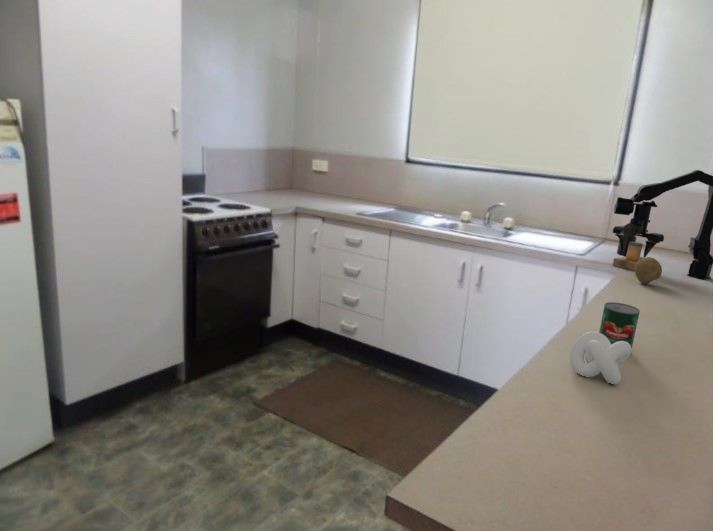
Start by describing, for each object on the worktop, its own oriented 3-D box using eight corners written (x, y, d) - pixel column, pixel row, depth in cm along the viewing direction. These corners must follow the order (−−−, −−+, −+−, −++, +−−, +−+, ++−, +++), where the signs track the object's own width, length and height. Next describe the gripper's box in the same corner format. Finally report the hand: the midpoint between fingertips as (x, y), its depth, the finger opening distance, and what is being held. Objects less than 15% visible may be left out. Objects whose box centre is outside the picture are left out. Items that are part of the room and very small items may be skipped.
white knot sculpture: (635, 394, 113) (645, 353, 111) (574, 385, 115) (582, 345, 112) (620, 371, 124) (628, 333, 121) (564, 363, 125) (571, 326, 123)
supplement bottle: (634, 257, 249) (640, 231, 246) (618, 255, 250) (623, 229, 247) (630, 253, 256) (635, 228, 253) (614, 252, 257) (619, 226, 254)
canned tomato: (621, 344, 140) (629, 303, 137) (637, 357, 132) (646, 313, 130) (590, 342, 140) (598, 301, 137) (605, 355, 132) (614, 311, 129)
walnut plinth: (648, 269, 226) (650, 262, 226) (635, 271, 221) (637, 264, 220) (625, 263, 234) (627, 256, 233) (612, 265, 229) (614, 258, 228)
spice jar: (641, 261, 226) (645, 244, 224) (635, 262, 223) (638, 244, 221) (629, 258, 230) (633, 241, 228) (622, 259, 227) (626, 242, 225)
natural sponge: (644, 279, 209) (649, 254, 206) (664, 286, 201) (670, 260, 198) (626, 280, 205) (631, 254, 203) (646, 287, 197) (652, 260, 195)
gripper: (608, 213, 225) (601, 250, 229) (653, 221, 210) (645, 261, 214) (623, 212, 231) (616, 248, 235) (668, 220, 217) (660, 259, 220)
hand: (633, 254), depth 226 cm, fingers open, 9 cm apart
